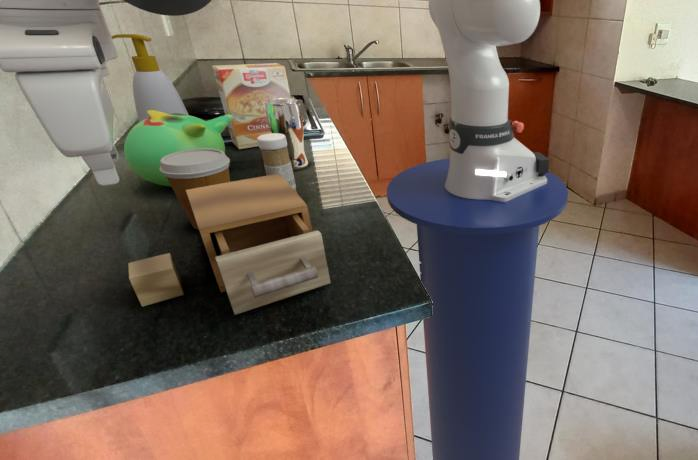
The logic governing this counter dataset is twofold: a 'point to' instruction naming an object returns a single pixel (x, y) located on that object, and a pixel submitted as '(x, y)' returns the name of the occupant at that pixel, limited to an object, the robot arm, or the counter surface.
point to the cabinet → (242, 208)
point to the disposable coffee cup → (194, 173)
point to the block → (155, 279)
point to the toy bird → (169, 140)
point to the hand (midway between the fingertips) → (110, 172)
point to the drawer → (270, 261)
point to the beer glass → (288, 127)
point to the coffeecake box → (249, 98)
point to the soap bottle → (151, 83)
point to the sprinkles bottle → (276, 156)
